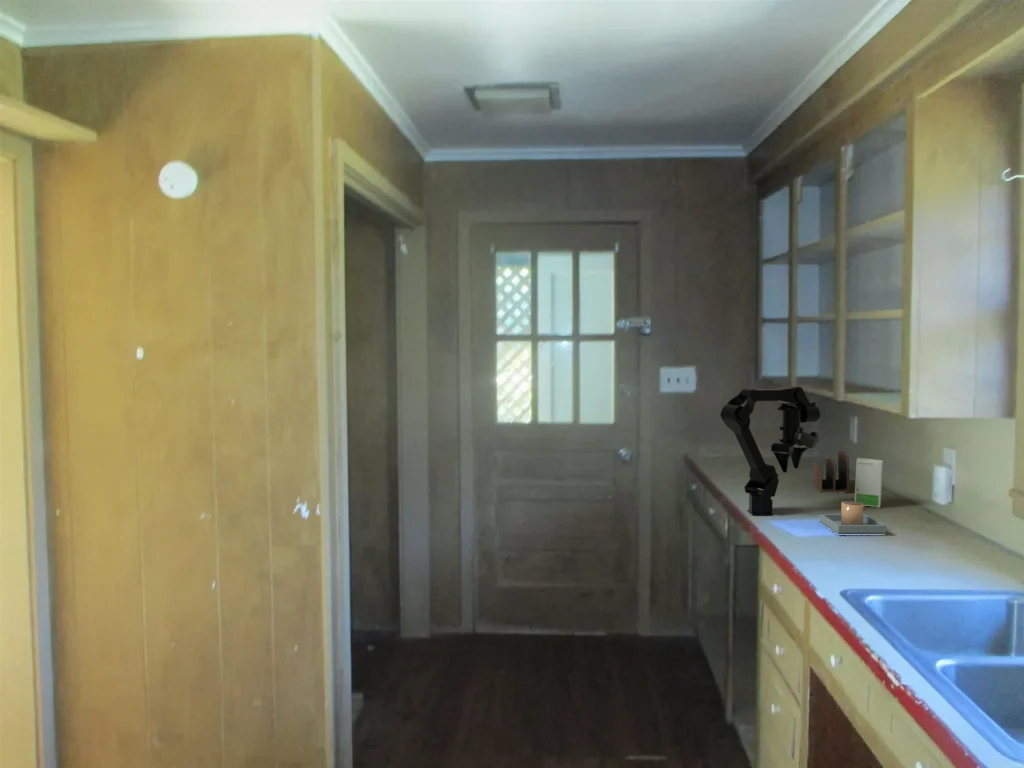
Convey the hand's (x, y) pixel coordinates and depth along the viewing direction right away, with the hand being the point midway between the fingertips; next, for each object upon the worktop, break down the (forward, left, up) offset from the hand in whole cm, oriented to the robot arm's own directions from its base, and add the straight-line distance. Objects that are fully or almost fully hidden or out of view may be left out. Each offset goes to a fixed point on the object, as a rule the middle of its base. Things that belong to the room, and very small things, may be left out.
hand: (790, 470), depth 261 cm
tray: (+9, -27, -13) cm, 31 cm away
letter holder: (+27, +33, -13) cm, 45 cm away
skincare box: (+28, +4, -13) cm, 31 cm away
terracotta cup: (+9, -27, -12) cm, 31 cm away
